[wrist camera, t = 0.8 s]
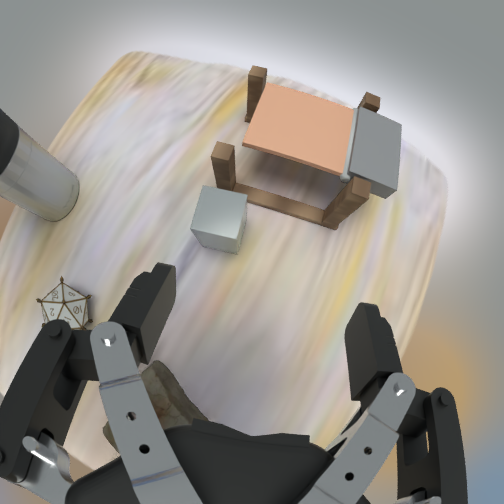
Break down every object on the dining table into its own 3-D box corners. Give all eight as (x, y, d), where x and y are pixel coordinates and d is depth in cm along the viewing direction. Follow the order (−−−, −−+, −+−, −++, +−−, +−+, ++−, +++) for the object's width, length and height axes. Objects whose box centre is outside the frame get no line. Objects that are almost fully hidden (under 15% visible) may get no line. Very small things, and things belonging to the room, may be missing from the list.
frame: (216, 193, 41) (206, 148, 28) (248, 112, 43) (251, 56, 31) (335, 230, 40) (372, 200, 28) (352, 145, 43) (383, 99, 30)
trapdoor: (241, 152, 32) (241, 139, 29) (266, 90, 34) (268, 75, 31) (385, 201, 31) (396, 192, 29) (392, 134, 33) (401, 122, 30)
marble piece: (157, 357, 37) (148, 362, 33) (239, 419, 36) (239, 431, 32) (102, 425, 34) (91, 435, 30) (176, 481, 33) (171, 494, 29)
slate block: (202, 246, 39) (190, 228, 30) (211, 212, 40) (203, 185, 30) (237, 254, 39) (236, 239, 30) (246, 220, 40) (247, 194, 30)
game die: (80, 308, 41) (30, 287, 33) (106, 284, 39) (51, 257, 31) (81, 358, 35) (24, 339, 28) (109, 338, 33) (43, 314, 26)
